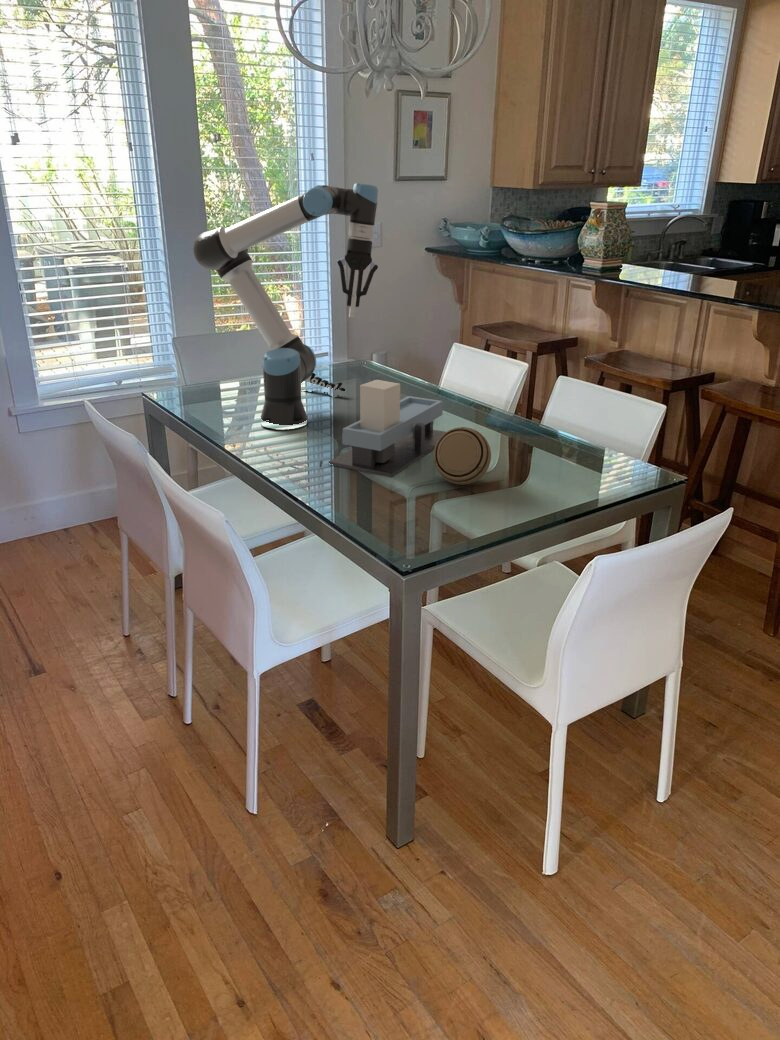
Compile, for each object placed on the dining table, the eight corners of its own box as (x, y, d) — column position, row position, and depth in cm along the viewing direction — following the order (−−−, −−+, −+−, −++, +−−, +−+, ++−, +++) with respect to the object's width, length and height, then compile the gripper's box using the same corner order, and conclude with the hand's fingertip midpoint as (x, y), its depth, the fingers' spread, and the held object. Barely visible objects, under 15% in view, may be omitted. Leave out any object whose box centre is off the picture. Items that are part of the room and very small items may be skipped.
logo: (295, 388, 296) (298, 363, 291) (298, 387, 298) (302, 362, 293) (339, 409, 287) (344, 383, 282) (343, 407, 289) (347, 382, 284)
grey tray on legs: (406, 424, 252) (406, 395, 248) (443, 430, 246) (444, 401, 242) (341, 460, 219) (340, 428, 216) (382, 468, 214) (382, 435, 210)
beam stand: (397, 426, 255) (398, 399, 251) (454, 436, 246) (455, 408, 243) (328, 464, 221) (327, 433, 217) (391, 477, 212) (392, 445, 208)
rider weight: (376, 420, 228) (376, 379, 223) (399, 425, 224) (400, 383, 219) (360, 427, 221) (360, 385, 217) (383, 432, 217) (384, 389, 213)
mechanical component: (423, 477, 212) (424, 423, 206) (471, 470, 218) (474, 417, 212) (449, 496, 200) (451, 439, 194) (499, 488, 206) (503, 433, 199)
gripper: (339, 236, 236) (331, 316, 245) (382, 242, 238) (373, 321, 247) (338, 235, 243) (330, 312, 252) (380, 240, 245) (370, 317, 254)
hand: (351, 317), depth 249 cm, fingers closed
